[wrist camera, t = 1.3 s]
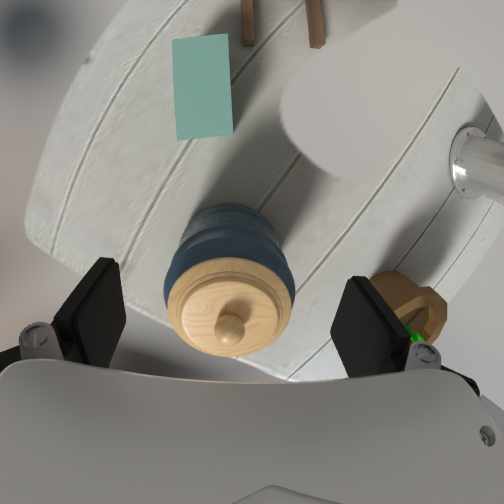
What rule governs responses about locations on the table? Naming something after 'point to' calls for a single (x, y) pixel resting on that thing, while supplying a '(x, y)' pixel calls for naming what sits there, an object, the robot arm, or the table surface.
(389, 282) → the flowerpot
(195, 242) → the canister
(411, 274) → the table surface
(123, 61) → the table surface
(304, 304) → the table surface
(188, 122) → the teal rectangular block
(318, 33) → the book slot
